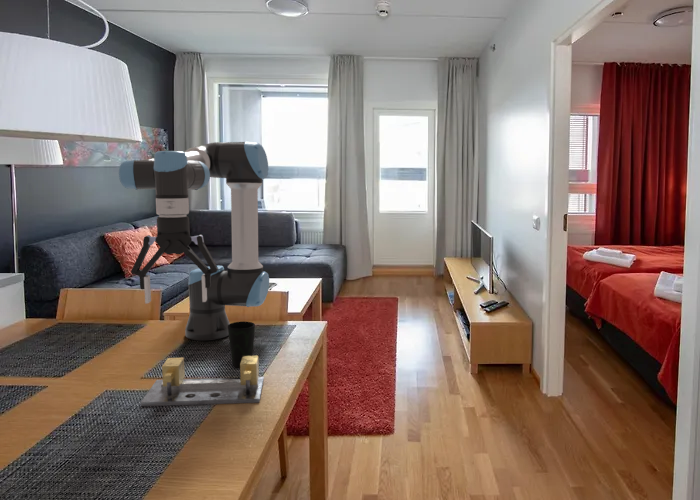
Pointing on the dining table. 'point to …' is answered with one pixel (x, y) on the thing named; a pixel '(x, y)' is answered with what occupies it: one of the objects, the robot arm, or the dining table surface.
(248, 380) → the trammel bar
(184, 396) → the bolt plate
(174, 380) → the block
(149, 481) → the dining table surface
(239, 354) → the cup
